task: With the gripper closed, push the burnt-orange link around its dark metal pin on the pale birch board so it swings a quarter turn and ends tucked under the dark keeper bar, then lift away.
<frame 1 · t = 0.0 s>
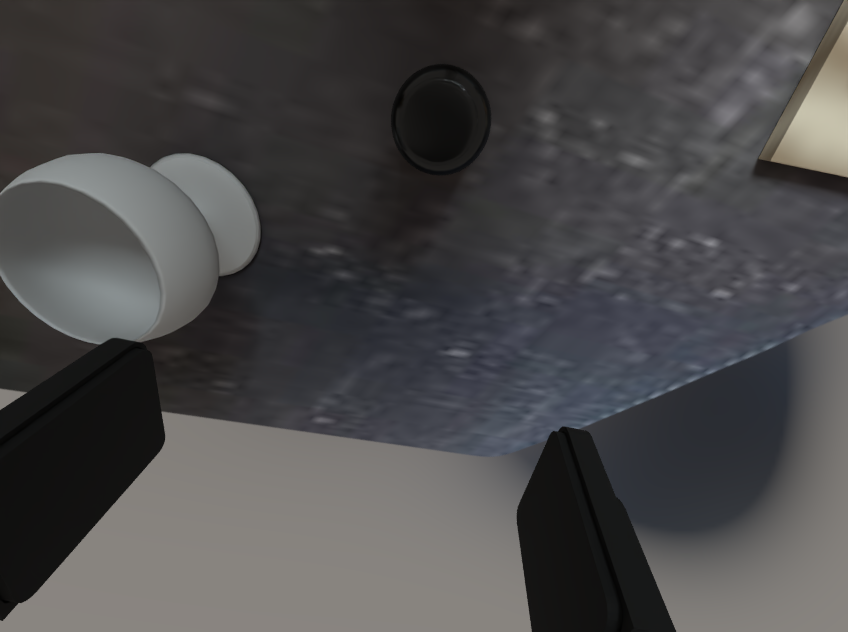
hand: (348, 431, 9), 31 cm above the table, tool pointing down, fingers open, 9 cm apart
chalice: (204, 217, 40), on the table
supplement bottle: (445, 120, 35), on the table
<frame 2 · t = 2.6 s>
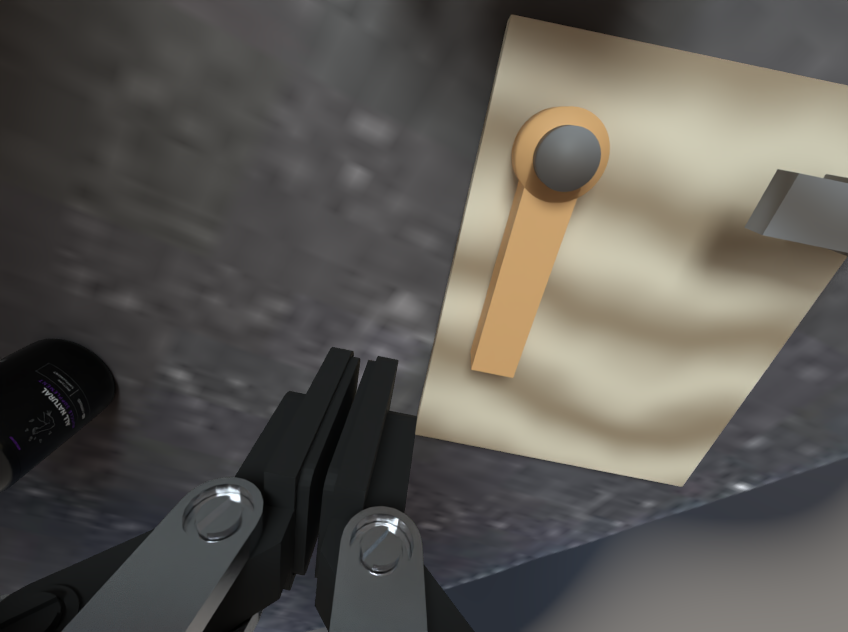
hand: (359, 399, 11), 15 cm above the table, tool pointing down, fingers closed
link: (525, 255, 21), point 3 cm above the table, hinge at 0.0°
pivot board: (609, 299, 25), on the table
supplement bottle: (77, 371, 31), on the table
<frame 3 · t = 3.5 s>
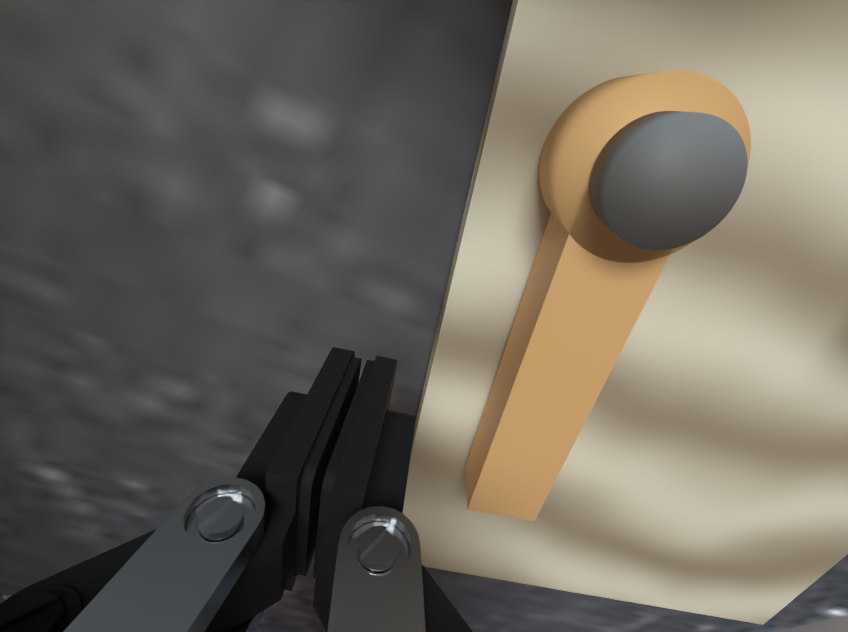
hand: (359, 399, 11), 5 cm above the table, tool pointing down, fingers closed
link: (560, 341, 12), point 3 cm above the table, hinge at 0.0°
pivot board: (681, 386, 16), on the table
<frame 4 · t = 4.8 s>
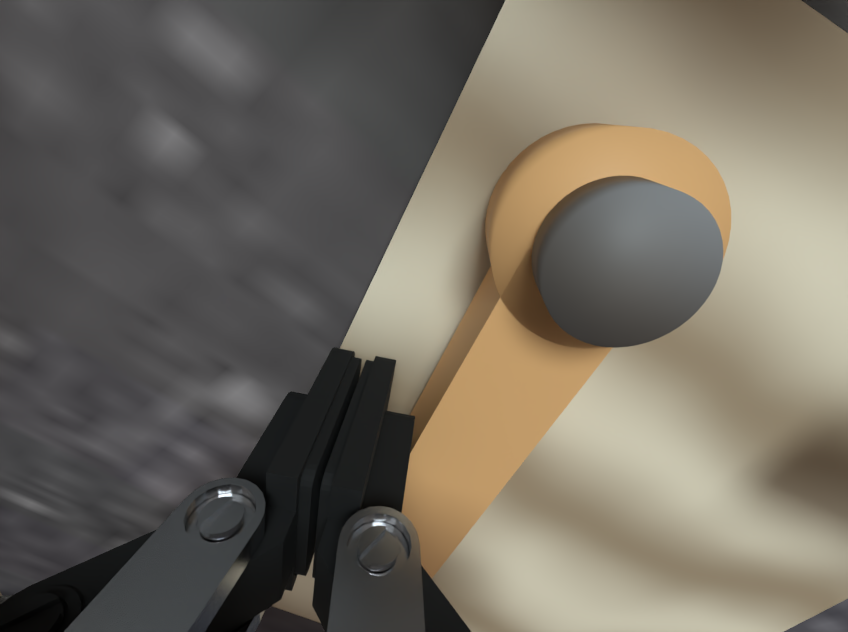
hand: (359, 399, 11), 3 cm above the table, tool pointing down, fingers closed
link: (476, 411, 10), point 3 cm above the table, hinge at 3.5°, touching gripper
pivot board: (587, 474, 15), on the table
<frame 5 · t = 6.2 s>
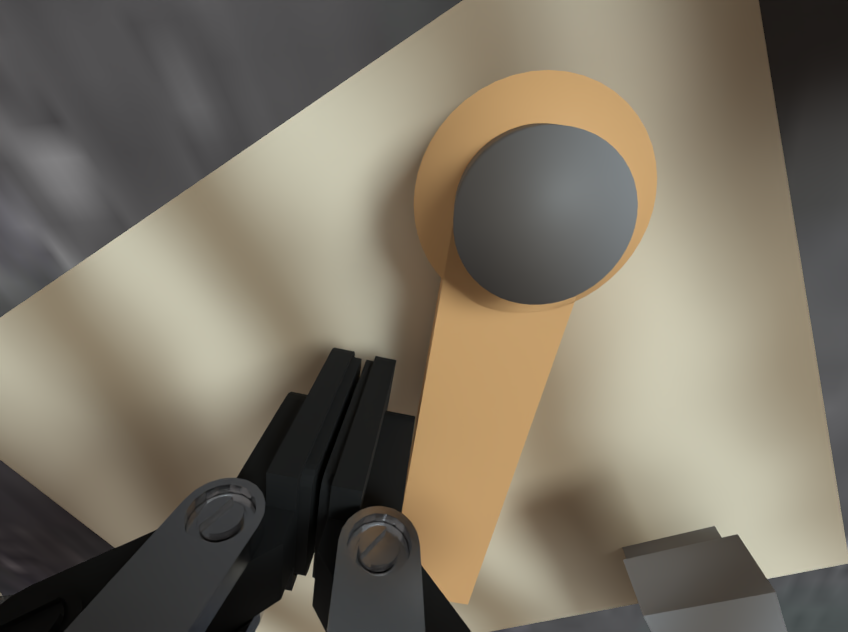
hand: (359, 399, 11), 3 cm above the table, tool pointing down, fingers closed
link: (471, 399, 10), point 3 cm above the table, hinge at 53.1°, touching gripper
pivot board: (387, 441, 15), on the table
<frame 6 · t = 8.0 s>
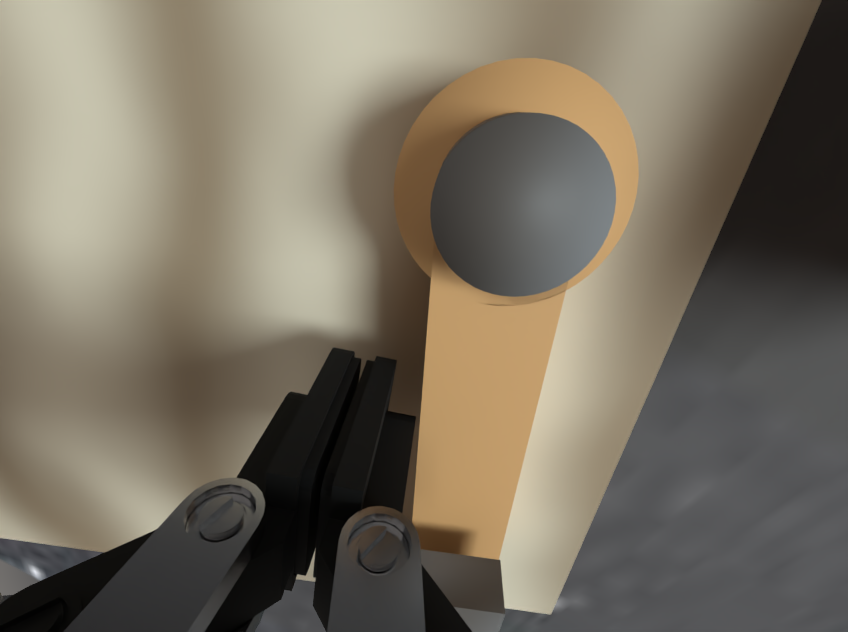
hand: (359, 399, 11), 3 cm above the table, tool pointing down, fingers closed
link: (473, 396, 10), point 3 cm above the table, hinge at 91.5°, touching gripper
pivot board: (236, 350, 13), on the table
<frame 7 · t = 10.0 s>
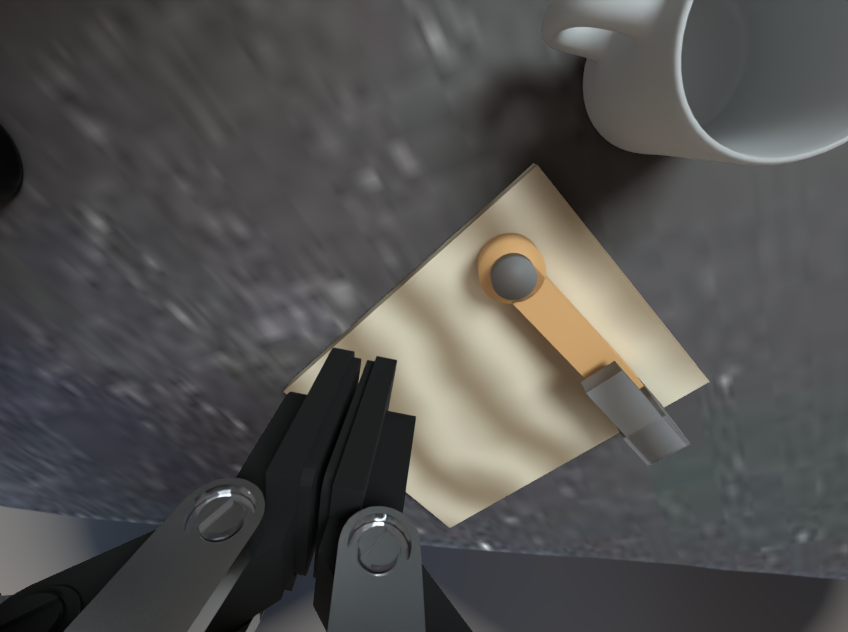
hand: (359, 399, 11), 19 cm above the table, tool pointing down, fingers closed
link: (559, 321, 26), point 3 cm above the table, hinge at 91.4°
pivot board: (482, 376, 32), on the table
mug: (627, 65, 23), on the table
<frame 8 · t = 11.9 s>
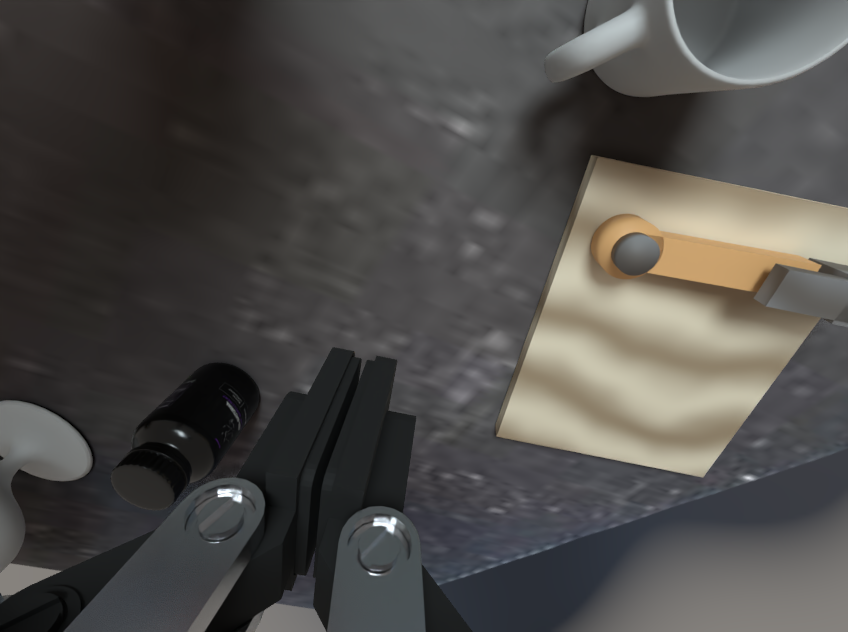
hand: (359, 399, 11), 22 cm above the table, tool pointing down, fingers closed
link: (697, 259, 27), point 3 cm above the table, hinge at 91.4°
pivot board: (652, 337, 33), on the table
mug: (625, 31, 24), on the table
chalice: (43, 439, 46), on the table
supplement bottle: (228, 386, 40), on the table
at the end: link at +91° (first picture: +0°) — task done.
